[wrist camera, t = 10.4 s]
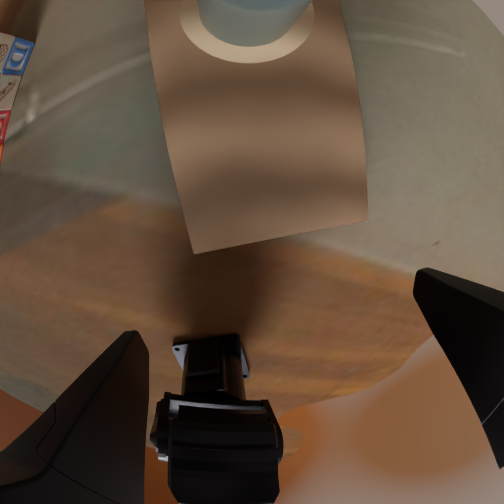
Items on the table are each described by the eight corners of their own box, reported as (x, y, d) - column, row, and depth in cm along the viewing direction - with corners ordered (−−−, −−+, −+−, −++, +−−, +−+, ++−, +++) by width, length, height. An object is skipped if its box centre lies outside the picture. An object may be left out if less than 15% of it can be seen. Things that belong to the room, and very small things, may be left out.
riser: (349, 208, 21) (369, 222, 18) (197, 236, 20) (193, 256, 17) (313, -16, 12) (327, -34, 9) (152, 0, 12) (141, -18, 9)
